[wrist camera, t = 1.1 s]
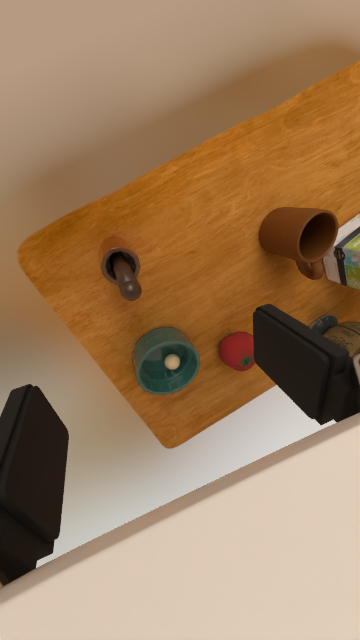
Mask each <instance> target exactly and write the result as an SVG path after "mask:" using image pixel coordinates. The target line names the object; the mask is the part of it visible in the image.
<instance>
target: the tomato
mask: <svg viewBox="0 0 360 640" xmlns="http://www.w3.org/2000/svg"><path fill="white" fill-rule="evenodd" d="M219 355H220V358H221V359H222V361H223V362H224V363H225V364H227V365H228V366H230V367H232V368H233V369H235V370H238V371H246V370H248V369H250V368H251V367H252V366H253V365H254V364H255V363H256V362H255V360H254V345H253V336H252V335H250V334H248V333H247V332H236V333H233V334H230V335H229V336H228V337H226V338H224V339H223V340H222V341H221V342H220V346H219Z"/></svg>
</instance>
